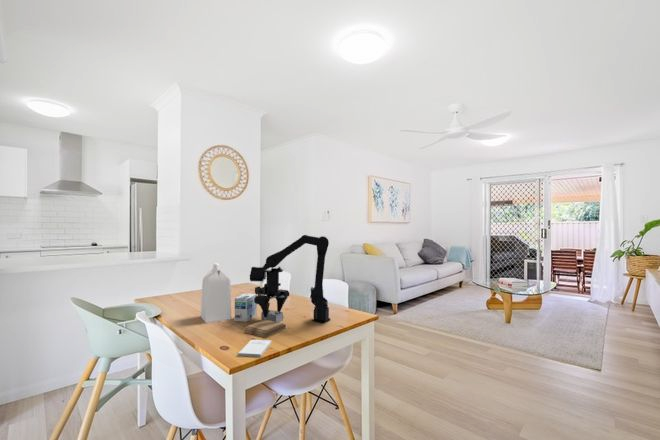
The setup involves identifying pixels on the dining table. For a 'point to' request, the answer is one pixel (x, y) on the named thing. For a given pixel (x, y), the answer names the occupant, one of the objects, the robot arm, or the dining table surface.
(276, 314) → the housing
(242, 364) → the dining table surface
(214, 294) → the milk
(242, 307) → the light bulb box
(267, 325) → the tray
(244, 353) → the external hard drive
